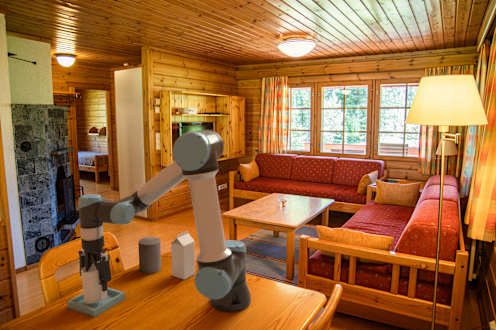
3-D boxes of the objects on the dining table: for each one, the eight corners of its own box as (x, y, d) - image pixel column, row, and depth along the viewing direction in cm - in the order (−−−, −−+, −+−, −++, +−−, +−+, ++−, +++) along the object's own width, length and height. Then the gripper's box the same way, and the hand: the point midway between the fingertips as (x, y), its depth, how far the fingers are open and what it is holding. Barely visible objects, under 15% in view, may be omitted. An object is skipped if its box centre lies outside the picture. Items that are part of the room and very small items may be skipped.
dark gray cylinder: (134, 272, 155) (133, 240, 152) (147, 263, 164) (146, 232, 162) (154, 275, 152) (152, 242, 150) (165, 266, 161) (164, 235, 159)
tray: (125, 298, 133) (124, 292, 132) (94, 317, 120) (94, 311, 120) (99, 290, 139) (98, 284, 138) (67, 307, 126) (67, 301, 126)
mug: (96, 305, 124) (93, 273, 122) (79, 303, 125) (76, 271, 123) (112, 291, 134) (109, 261, 132) (96, 289, 135) (93, 260, 133)
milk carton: (195, 273, 153) (194, 232, 150) (184, 280, 147) (183, 237, 145) (183, 269, 157) (182, 229, 154) (172, 276, 151) (170, 234, 148)
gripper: (120, 237, 125) (123, 297, 128) (83, 230, 133) (87, 286, 137) (103, 244, 118) (107, 307, 121) (65, 236, 127) (70, 295, 130)
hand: (96, 296), depth 129 cm, fingers closed on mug, 6 cm apart
